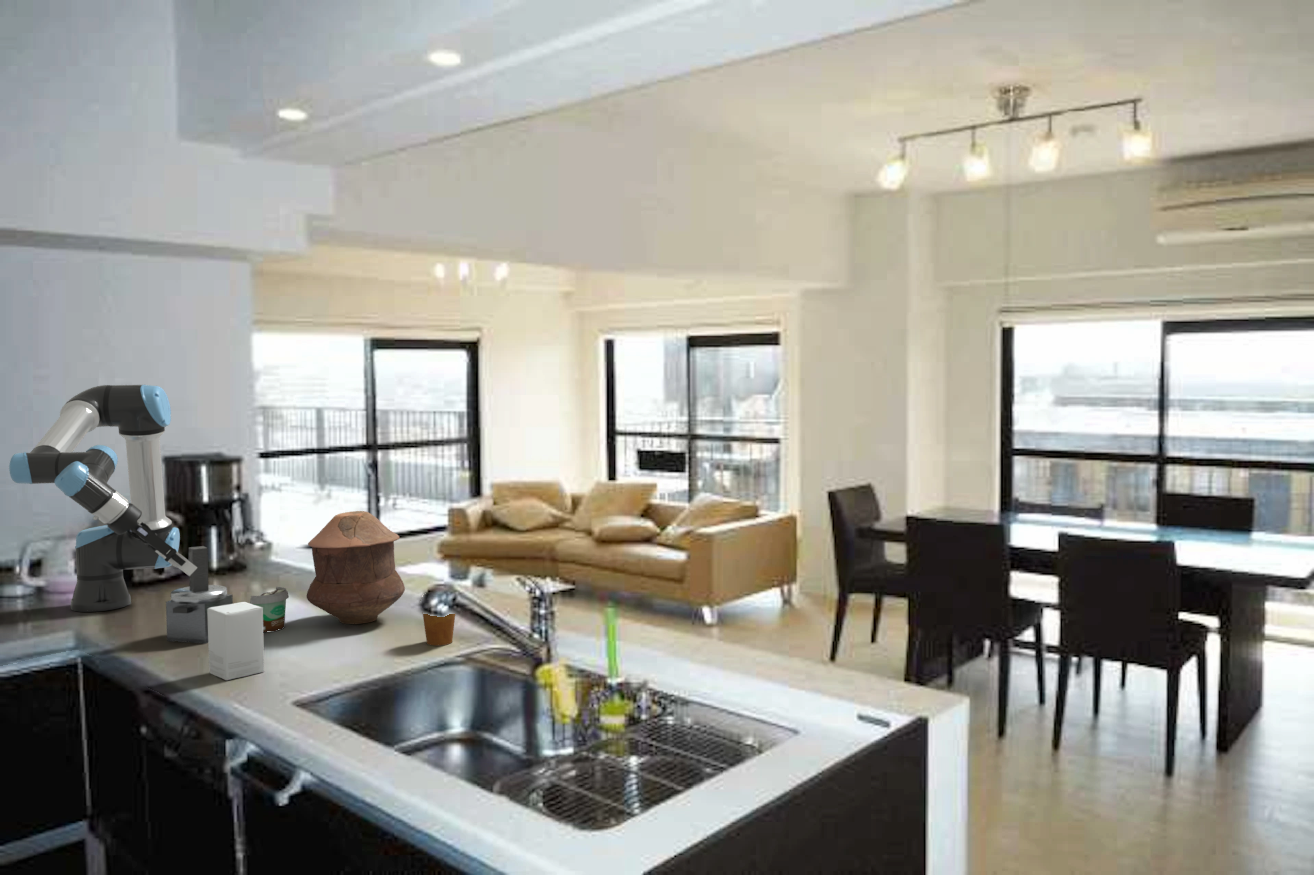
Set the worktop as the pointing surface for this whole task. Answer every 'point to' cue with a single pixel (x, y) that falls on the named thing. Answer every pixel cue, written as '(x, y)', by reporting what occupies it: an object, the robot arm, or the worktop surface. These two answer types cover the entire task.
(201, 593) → the lid
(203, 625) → the grey open storage bin
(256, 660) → the supplement box
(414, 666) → the worktop surface
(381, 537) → the pottery vessel
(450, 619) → the disposable coffee cup
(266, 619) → the food container
